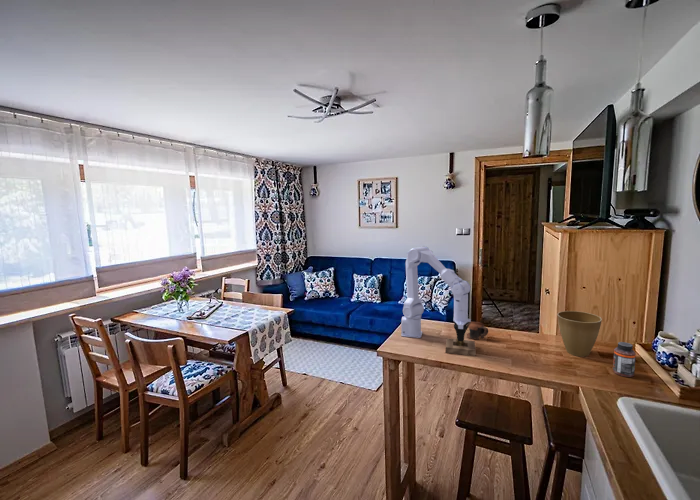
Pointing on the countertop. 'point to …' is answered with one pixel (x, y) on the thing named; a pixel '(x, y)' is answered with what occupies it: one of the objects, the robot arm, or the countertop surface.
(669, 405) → the countertop surface
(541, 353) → the countertop surface
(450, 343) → the slot block
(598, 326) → the plant pot
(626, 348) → the supplement bottle
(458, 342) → the pin
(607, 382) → the countertop surface
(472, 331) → the pottery mug
